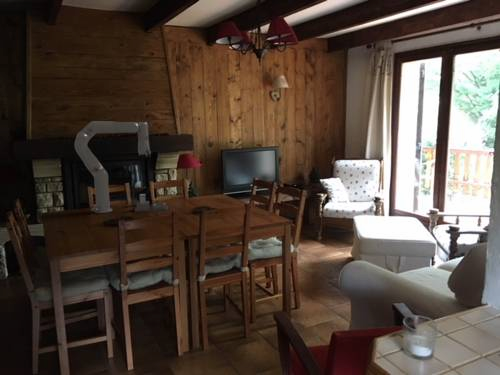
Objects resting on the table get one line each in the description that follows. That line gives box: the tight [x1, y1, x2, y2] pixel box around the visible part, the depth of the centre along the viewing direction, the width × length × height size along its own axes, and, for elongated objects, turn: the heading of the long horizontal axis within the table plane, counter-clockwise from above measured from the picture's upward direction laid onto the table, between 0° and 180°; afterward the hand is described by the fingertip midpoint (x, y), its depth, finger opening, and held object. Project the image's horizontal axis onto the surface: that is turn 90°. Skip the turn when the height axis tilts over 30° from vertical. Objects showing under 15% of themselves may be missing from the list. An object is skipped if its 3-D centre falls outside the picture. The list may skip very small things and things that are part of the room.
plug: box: [140, 194, 146, 203], centre depth 317 cm, size 4×4×9 cm
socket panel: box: [134, 201, 169, 213], centre depth 319 cm, size 24×11×6 cm, turn 103°
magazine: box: [134, 185, 153, 206], centre depth 336 cm, size 4×13×15 cm, turn 125°
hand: (144, 161), depth 323 cm, fingers open, 9 cm apart
